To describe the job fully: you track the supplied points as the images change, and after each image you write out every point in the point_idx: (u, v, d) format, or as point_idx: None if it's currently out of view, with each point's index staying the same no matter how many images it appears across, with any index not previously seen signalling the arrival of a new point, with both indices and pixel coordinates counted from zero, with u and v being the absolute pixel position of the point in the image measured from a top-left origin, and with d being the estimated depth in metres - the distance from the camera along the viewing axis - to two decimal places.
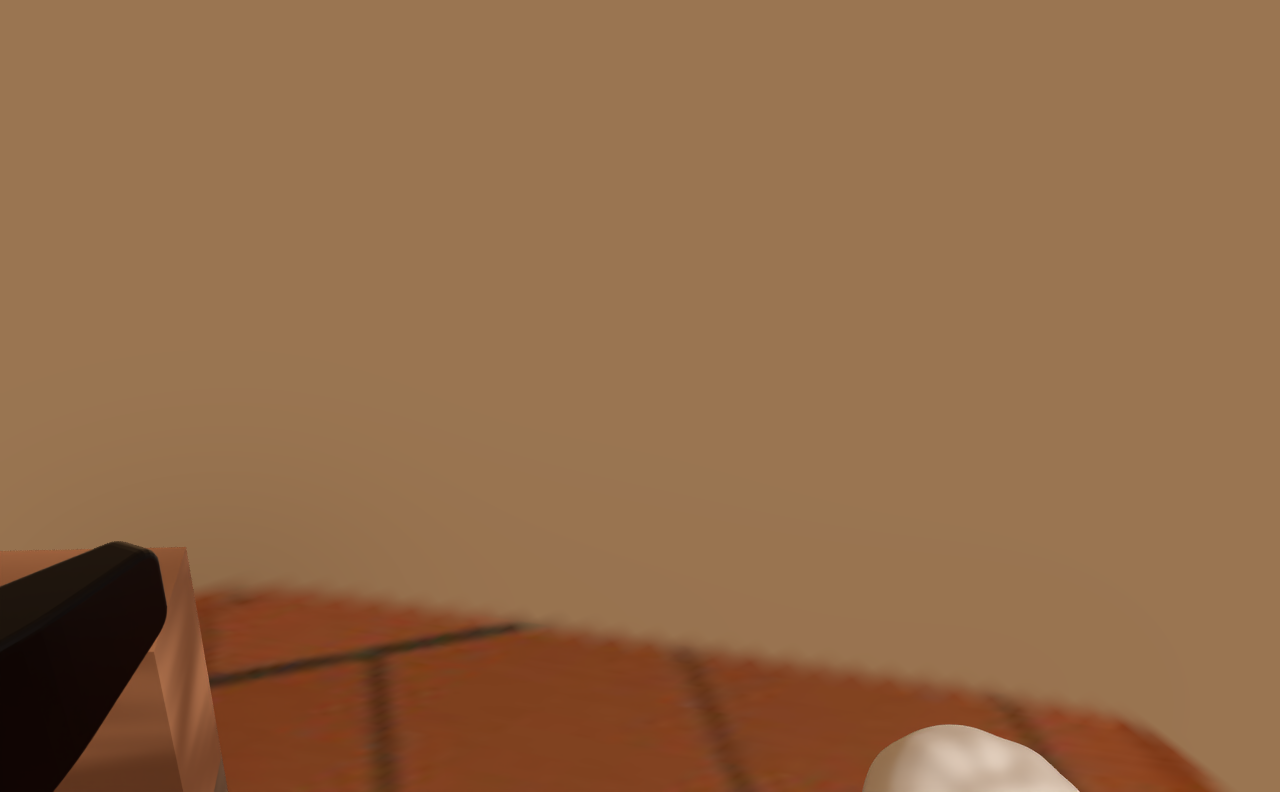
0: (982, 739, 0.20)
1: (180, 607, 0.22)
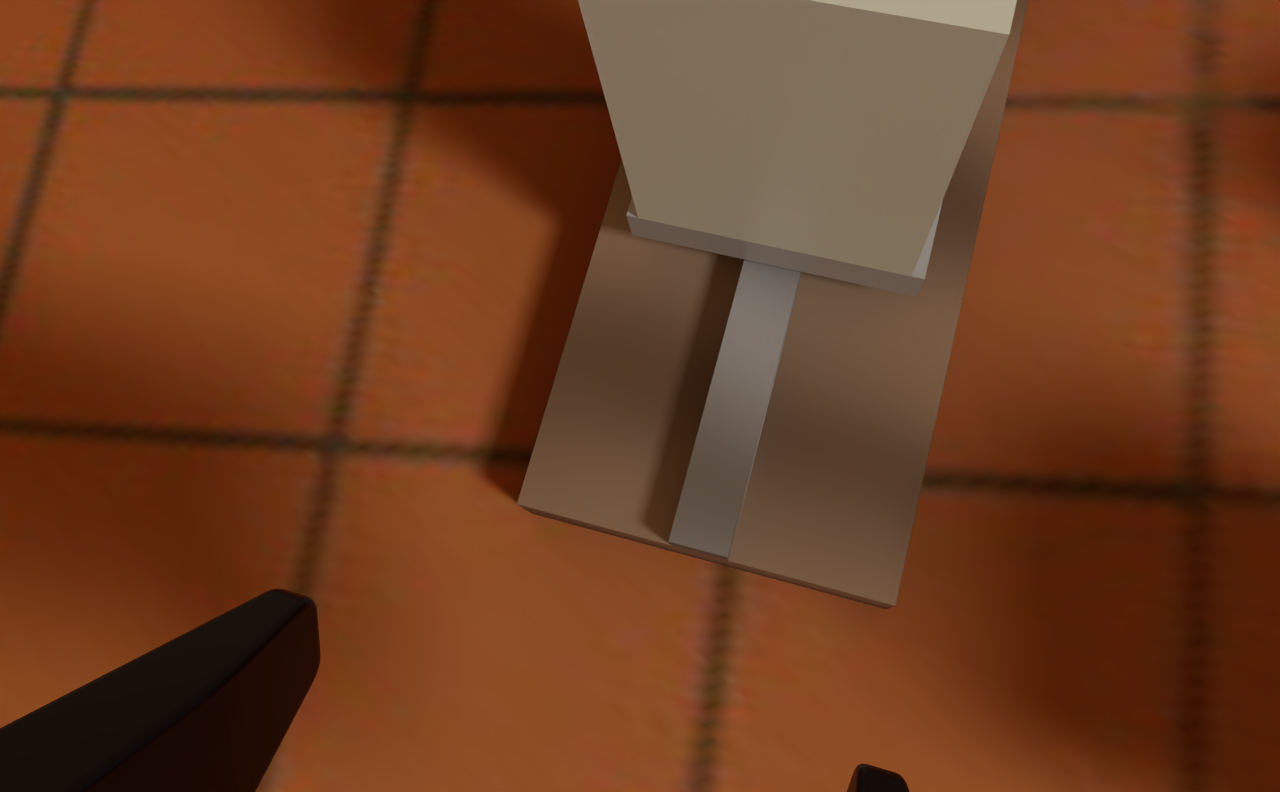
0: None
1: None
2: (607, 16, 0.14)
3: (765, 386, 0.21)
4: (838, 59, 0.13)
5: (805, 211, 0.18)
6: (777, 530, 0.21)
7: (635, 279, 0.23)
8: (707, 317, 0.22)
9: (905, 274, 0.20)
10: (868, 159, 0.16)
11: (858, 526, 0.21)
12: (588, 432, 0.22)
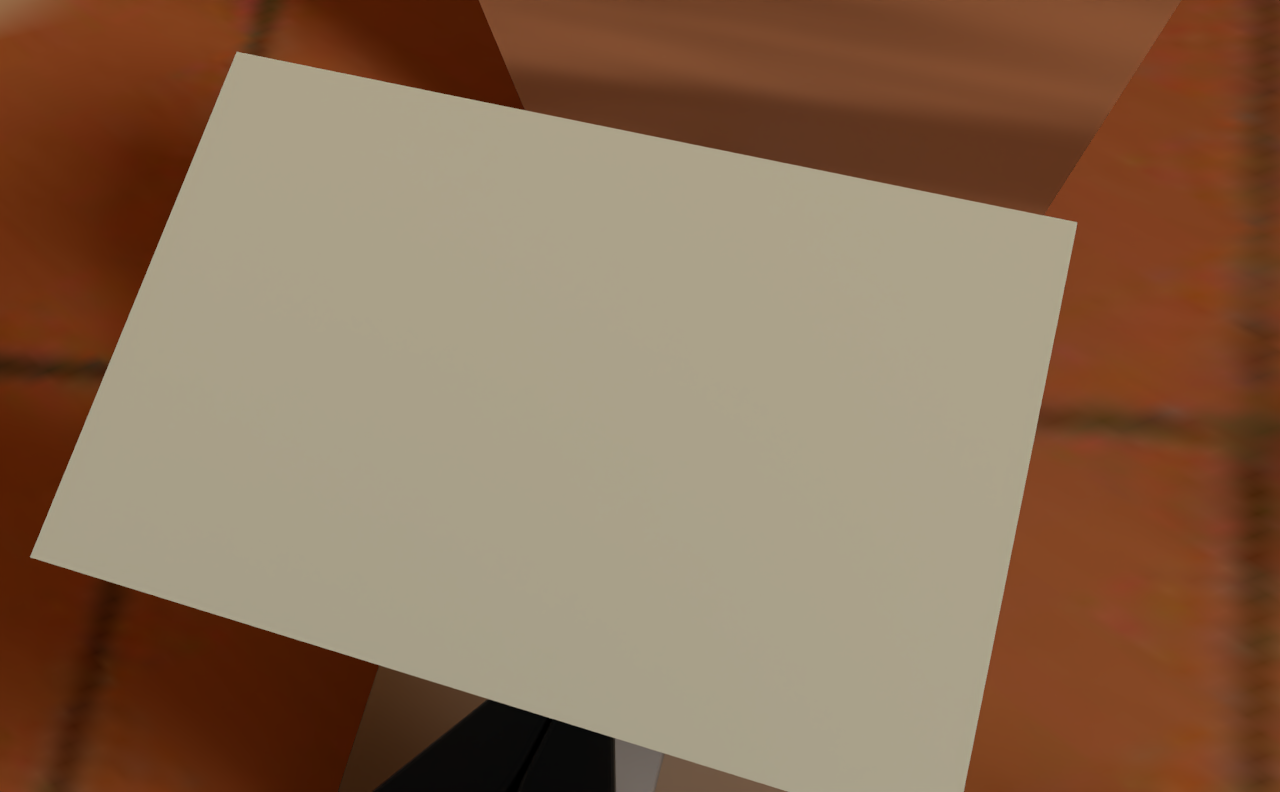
0: None
1: None
2: None
3: None
4: None
5: None
6: None
7: (439, 702, 0.16)
8: None
9: None
10: None
11: None
12: None
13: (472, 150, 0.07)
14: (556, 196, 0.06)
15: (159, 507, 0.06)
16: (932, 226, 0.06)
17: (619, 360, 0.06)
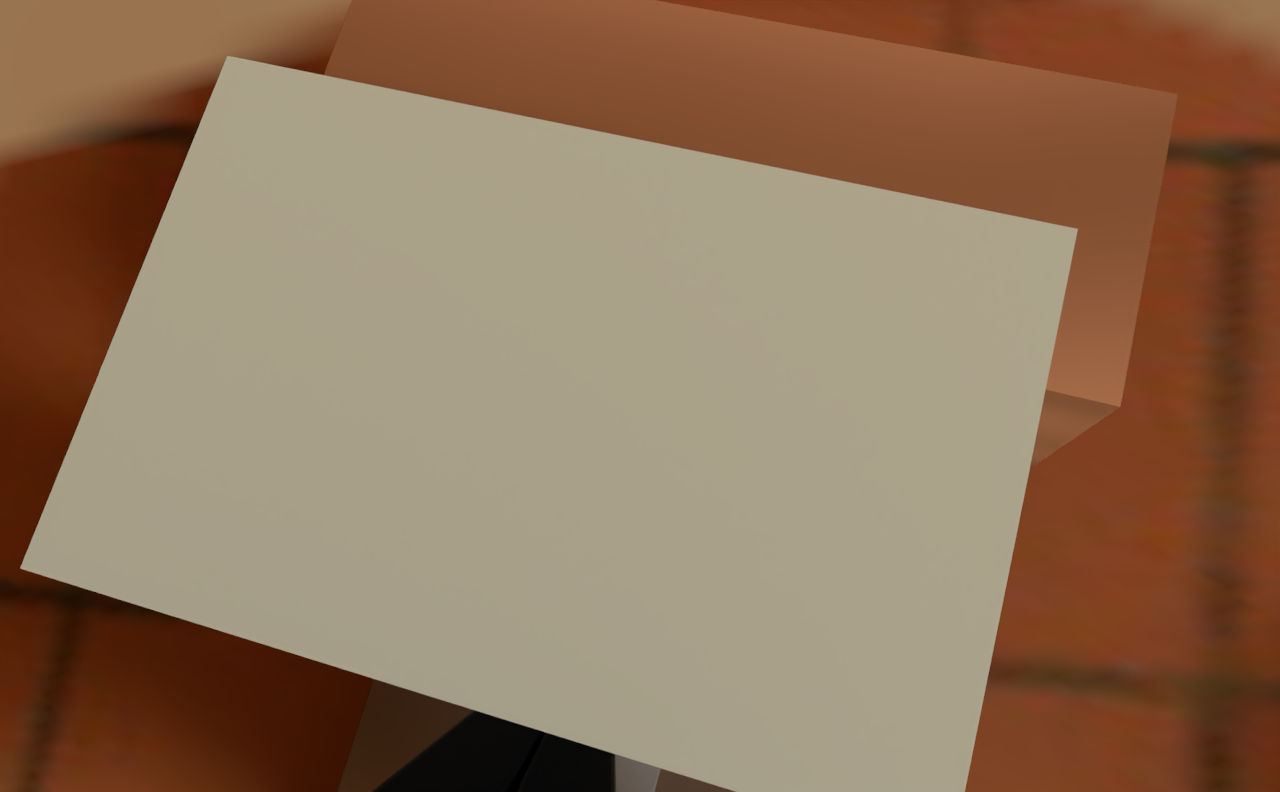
0: None
1: None
2: None
3: None
4: None
5: None
6: None
7: None
8: None
9: None
10: None
11: None
12: None
13: (465, 156, 0.06)
14: (548, 202, 0.06)
15: (150, 518, 0.06)
16: (931, 233, 0.06)
17: (612, 368, 0.06)
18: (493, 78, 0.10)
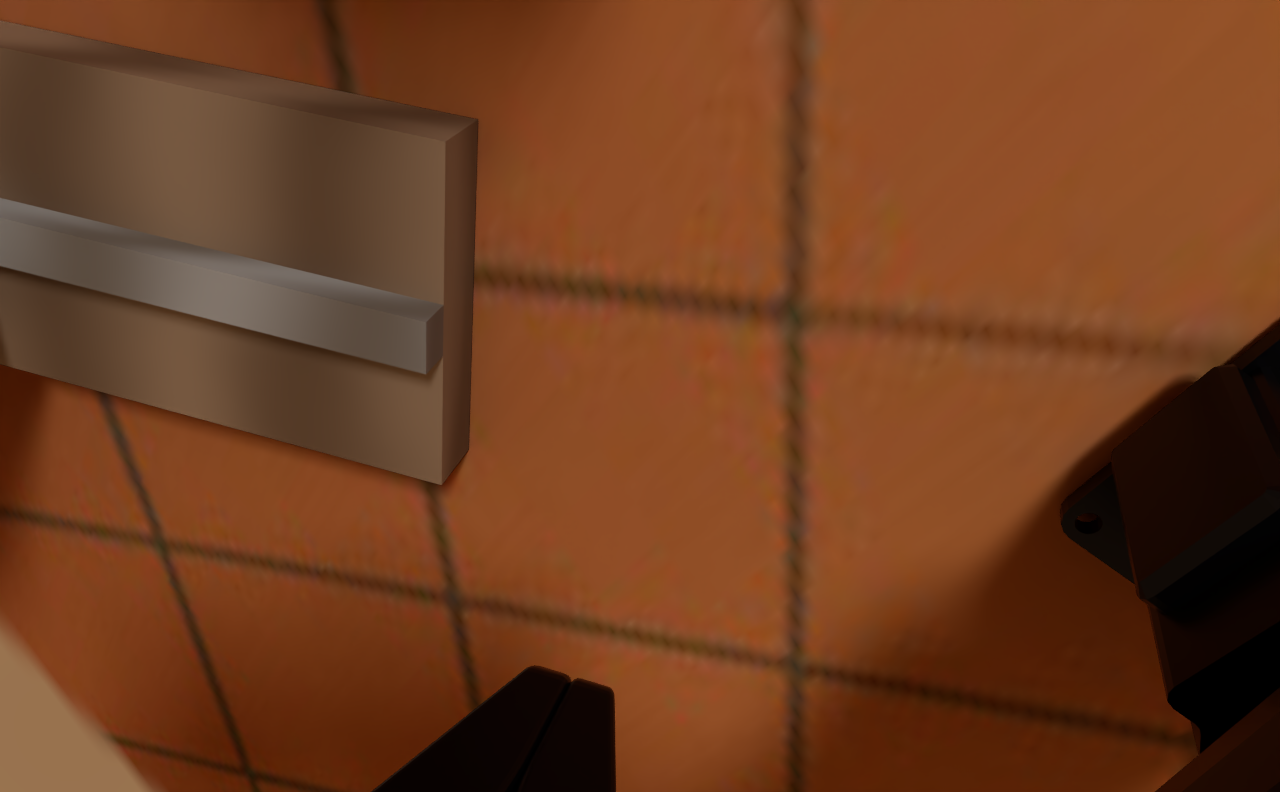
0: None
1: None
2: None
3: (264, 287, 0.21)
4: None
5: None
6: (404, 259, 0.20)
7: (223, 387, 0.24)
8: (234, 324, 0.22)
9: None
10: None
11: (379, 180, 0.20)
12: (365, 426, 0.23)
13: None
14: None
15: None
16: None
17: None
18: None
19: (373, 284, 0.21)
